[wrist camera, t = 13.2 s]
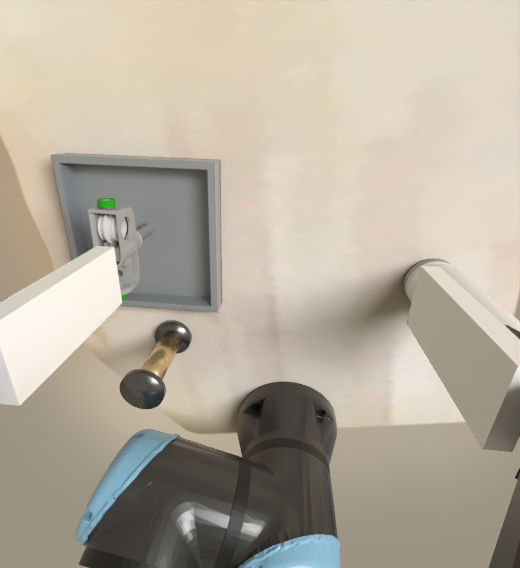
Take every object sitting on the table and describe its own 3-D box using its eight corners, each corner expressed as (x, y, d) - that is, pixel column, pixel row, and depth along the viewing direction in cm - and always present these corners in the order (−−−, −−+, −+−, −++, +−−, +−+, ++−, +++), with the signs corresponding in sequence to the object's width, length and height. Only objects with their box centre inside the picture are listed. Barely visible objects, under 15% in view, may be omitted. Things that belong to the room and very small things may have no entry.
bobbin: (192, 351, 49) (165, 410, 39) (158, 348, 50) (122, 407, 39) (190, 321, 47) (161, 376, 37) (155, 319, 48) (116, 372, 37)
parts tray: (222, 301, 46) (217, 312, 43) (93, 292, 47) (80, 302, 44) (220, 159, 38) (214, 162, 36) (67, 153, 39) (50, 154, 37)
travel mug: (459, 253, 40) (598, 353, 22) (452, 303, 43) (570, 428, 25) (405, 256, 41) (495, 355, 23) (400, 305, 44) (478, 428, 25)
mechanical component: (138, 266, 44) (100, 301, 35) (130, 184, 40) (84, 200, 31) (161, 268, 44) (128, 303, 35) (155, 186, 40) (116, 202, 30)
